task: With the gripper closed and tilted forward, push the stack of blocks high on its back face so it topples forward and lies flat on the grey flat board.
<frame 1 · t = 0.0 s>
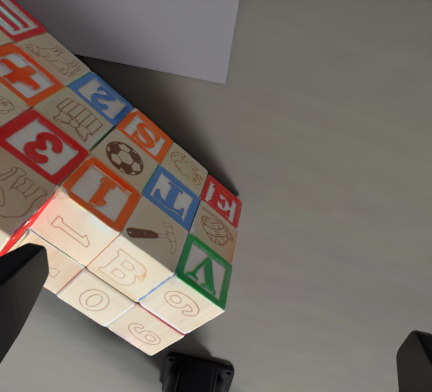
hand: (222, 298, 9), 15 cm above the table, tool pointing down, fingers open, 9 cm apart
stack of blocks: (90, 120, 24), on the table, touching grey flat board
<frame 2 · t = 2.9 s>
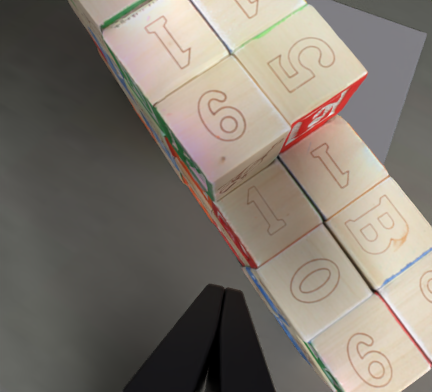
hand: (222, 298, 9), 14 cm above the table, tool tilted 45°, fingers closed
stack of blocks: (239, 178, 24), on the table, touching grey flat board
grey flat board: (288, 58, 25), on the table
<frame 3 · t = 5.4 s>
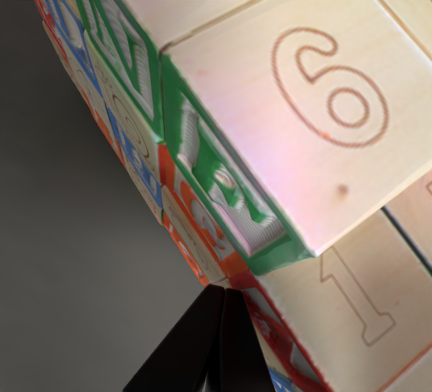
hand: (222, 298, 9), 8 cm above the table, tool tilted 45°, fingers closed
stack of blocks: (239, 219, 17), on the table, touching grey flat board
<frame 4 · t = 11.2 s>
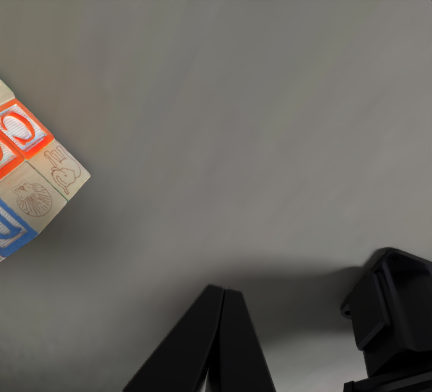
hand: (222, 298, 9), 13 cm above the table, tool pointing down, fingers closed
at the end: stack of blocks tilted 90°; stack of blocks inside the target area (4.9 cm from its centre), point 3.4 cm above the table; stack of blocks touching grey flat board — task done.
